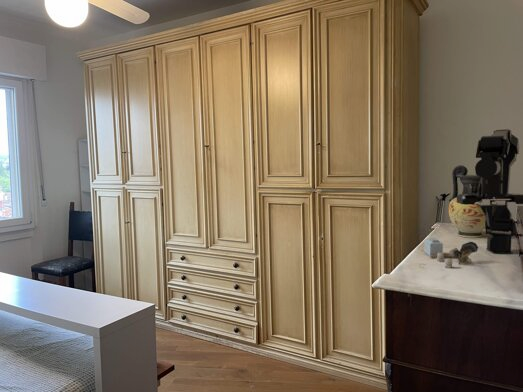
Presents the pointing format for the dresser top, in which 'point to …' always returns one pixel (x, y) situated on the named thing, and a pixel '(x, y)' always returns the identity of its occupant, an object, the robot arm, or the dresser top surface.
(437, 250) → the block
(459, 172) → the amphora
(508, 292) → the dresser top surface
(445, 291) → the dresser top surface
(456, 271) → the dresser top surface
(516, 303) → the dresser top surface
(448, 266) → the pin seat fixture
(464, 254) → the eagle figurine
